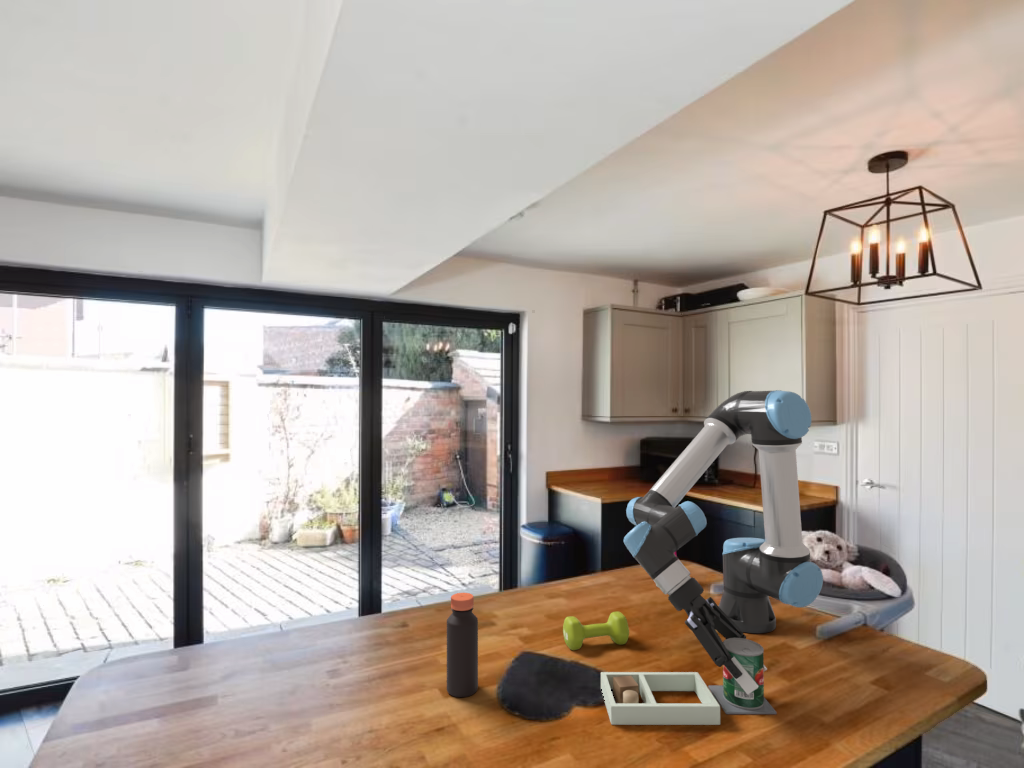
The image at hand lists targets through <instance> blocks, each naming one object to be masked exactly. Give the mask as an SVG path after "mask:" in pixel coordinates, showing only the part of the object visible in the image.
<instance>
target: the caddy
mask: <svg viewBox="0 0 1024 768" xmlns="http://www.w3.org/2000/svg"><path fill="white" fill-rule="evenodd" d="M622 676H632V678H633V679H634V680H635V681H636V683H637V684H638V687H639V695H640V697H641V700H642V703H617V702H616V699H615V698H614V696H613V691H611V689H613V677H622ZM601 689H602V691H601V694H602V693H603V694H602V697H603V696H604V698H603V701H604V700H605V701H604V704H605V708H606V711H607V714H608V718H609V722H610V724H611V726H612V725H614V726H615V725H616V726H617V725H620V726H621V725H626V726H627V725H628V726H630V725H631V726H635V725H637V726H640V725H641V726H642V725H644V726H645V725H646V726H648V725H649V726H651V725H653V726H655V725H656V726H657V725H658V726H664V725H666V726H671V725H672V726H673V725H675V726H678V725H681V726H683V725H684V726H685V725H686V726H687V725H689V726H690V725H691V726H693V725H694V726H696V725H697V726H699V725H700V726H703V725H705V726H709V725H710V726H711V725H713V726H714V725H715V726H719V725H721V705H720V704H719V702H718V701H717V699H716V698H715V696H714V695H713V693H712V692H711V690H710V689H709V687H708V686H707V684H706V683H705V681H704V680H703V678H702V676H701V675H700V674H699V672H698V671H697V672H696V671H694V672H693V671H688V672H687V671H685V672H684V671H681V672H680V671H673V672H671V671H662V672H661V671H655V672H653V671H650V672H649V671H636V672H635V671H630V672H629V671H601V672H600V690H601ZM653 692H695V694H696V696H697V697H698V699H699V701H700V702H701V703H696V702H695V703H694V702H693V703H683V702H682V703H681V702H680V703H678V702H677V703H675V702H674V703H672V702H671V703H667V702H666V703H664V702H663V703H658V702H657V701H656V699H655V696H654V695H653Z"/></svg>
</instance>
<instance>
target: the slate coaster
mask: <svg viewBox="0 0 1024 768" xmlns="http://www.w3.org/2000/svg"><path fill="white" fill-rule="evenodd" d="M707 687H708V689H709V690H710V692H711V693H712V695H713V696H714V698H715V699H716V701H717V702H718V704H719V705H720V708H721V709H722V710H723V712H724V713H725V714H726V715H777V714H778V713H777V711H776V710H775V708H774V707H773V706H772V705H771V704H770V702H769V701H768V700H767V698H766V697H764V705H763V707H761V708H759V709H755V710H748V709H742V708H738V707H736V706H733V705H731V704H730V703H728V702H727V701H726V700H725V699H724V697H723V684H721V685H719V684H718V685H714V684H713V685H712V684H711V685H710V684H709V685H708V686H707Z"/></svg>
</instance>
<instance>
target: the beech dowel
mask: <svg viewBox="0 0 1024 768" xmlns="http://www.w3.org/2000/svg"><path fill="white" fill-rule="evenodd" d="M623 703H638V693H637V692H636V691H633V690H626V691H624V692H623Z"/></svg>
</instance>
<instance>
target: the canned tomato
mask: <svg viewBox="0 0 1024 768" xmlns="http://www.w3.org/2000/svg"><path fill="white" fill-rule="evenodd" d="M722 642H723V644H724V645H725V647H726V649H727V650H728V652H729V654H730V655H731V657H732V658H733V657H735V658H736V659H737V661H738V662H739V663H740V664H741V665H742V667H743V668H744V669H745V670H746V671H747V673H748V674H749V675H750V676H751V678H752V679H753V680H754V681H755V682H756V684H757V685H758V686H759V687H758V688H757V689H755V690H754V691H752V692H751V693H749V694H748V695H747V693H746V692H745V691H744V690H743V688H742V687H741V686H740V685H739V683H738V682H737V681H736V680H735V678H734V677H733V676H732V675H731V673H730V672H729V671H728V670H727V668H726V667H725V666H724V665H722V668H723V669H722V685H723V697H724V699H725V700H726V701H727V702H728V703H730V704H731V705H733V706H736V707H738V708H742V709H748V710H755V709H759V708H761V707H763V705H764V698H765V693H764V692H765V684H764V681H765V680H764V679H765V677H764V673H765V672H764V666H765V664H764V661H765V660H764V659H765V658H764V651H765V650H764V646H762V644H760V643H758V642H756V641H754V640H751V639H747V638H746V639H744V638H729V639H726V638H725V639H724V640H722Z"/></svg>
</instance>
